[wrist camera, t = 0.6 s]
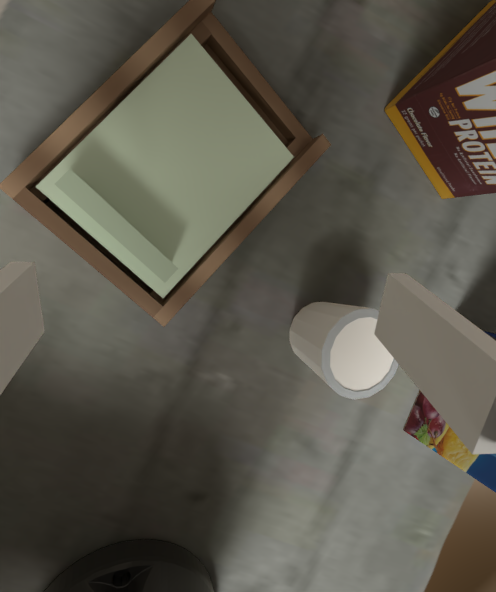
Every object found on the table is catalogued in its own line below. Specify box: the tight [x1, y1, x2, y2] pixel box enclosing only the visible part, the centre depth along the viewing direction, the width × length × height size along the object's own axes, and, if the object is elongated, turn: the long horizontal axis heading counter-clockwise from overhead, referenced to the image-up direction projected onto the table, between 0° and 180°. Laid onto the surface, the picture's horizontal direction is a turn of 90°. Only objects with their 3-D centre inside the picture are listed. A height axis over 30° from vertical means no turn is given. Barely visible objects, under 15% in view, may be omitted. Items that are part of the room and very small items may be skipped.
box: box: [0, 0, 331, 326], centre depth 28 cm, size 18×13×4 cm
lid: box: [36, 34, 294, 298], centre depth 26 cm, size 14×10×4 cm
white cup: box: [289, 302, 399, 400], centre depth 32 cm, size 7×7×7 cm
